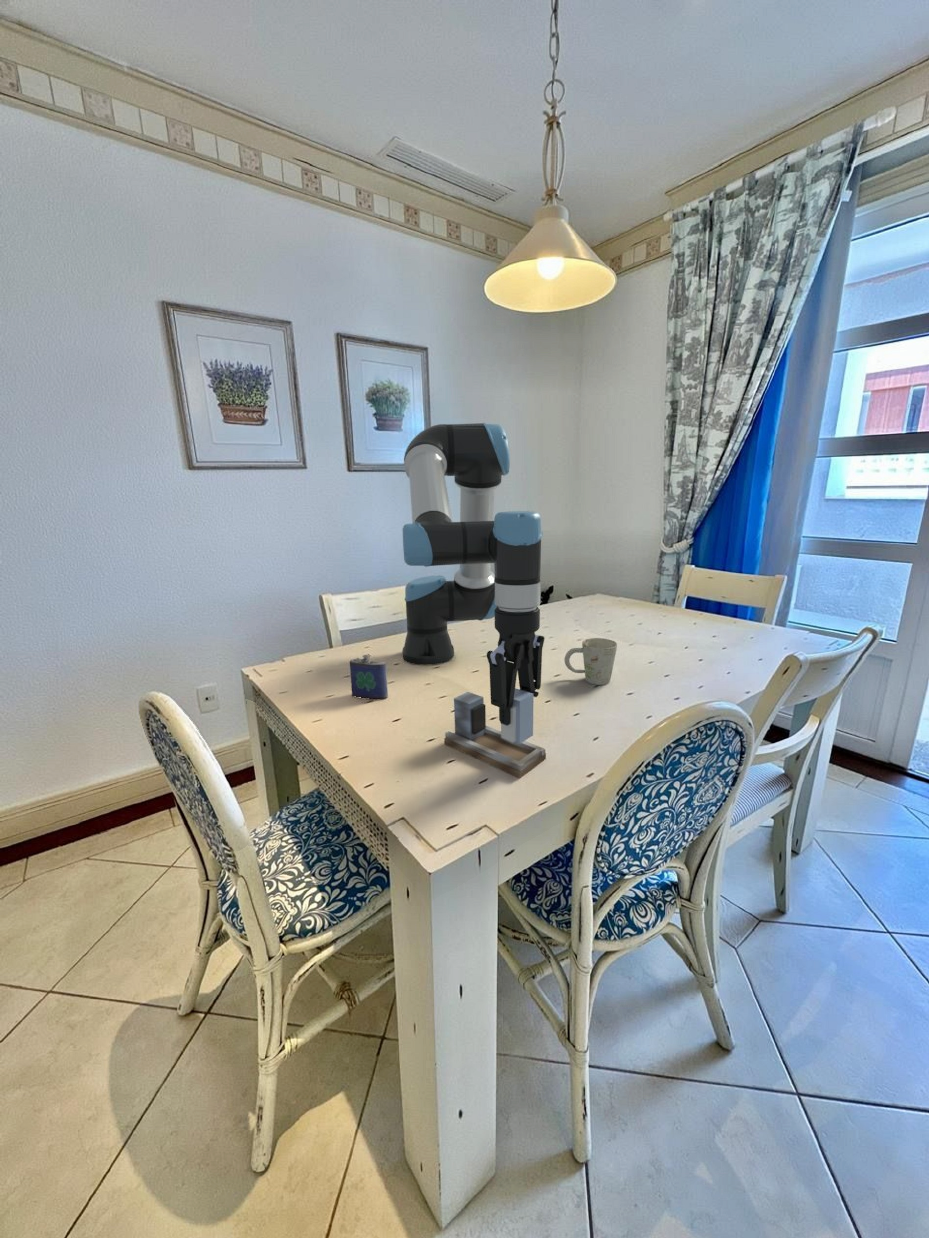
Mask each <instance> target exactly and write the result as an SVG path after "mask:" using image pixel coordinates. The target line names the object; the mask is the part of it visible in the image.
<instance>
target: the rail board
mask: <svg viewBox="0 0 929 1238" xmlns="http://www.w3.org/2000/svg"><path fill="white" fill-rule="evenodd" d="M453 701H454V702H453V712H454V713H453V714H454V732H452V731H449V730H448V731H446V732H445V735H444V741H443V742H444V745H447V746H448V747H450V748H453V749H455V750H458V751H459V752H461V753H464V754H466V755H468V756H470V757H472V758H474V759H477V760H479V761H480V762H483V763H485V764H488V765H489V766H492V767H494V768H496V769H498V770H500V771H503V772H505V773H508V774H510V775H511V776H514V777H516V778H519V779H522V777H524V776H525V775H527V774H528V773H529V772H530V771H532V770H533V769H535V767H537V766H538V765H540V764H542V762H544V761H545V760H546V759H547V753H546V748H544V747H541V746H539V745H536V744H534V743H531V742H529V741H527V740H525V741H524V742H522V743H521V744H518V743H516V742H514V743H513V742H511V741H508V740H506V739H503V738H501V730H498V729H496V728H493V727H490V726H488V725H487V724H486V723H487V721H486V719H487V718H486V713H487V711H486V704H485V703H484V696H481V695H479V694H475V693H473V692H469V691H467V692H465V693H462V694H460V695H458V696H456V697H454V698H453Z"/></svg>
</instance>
